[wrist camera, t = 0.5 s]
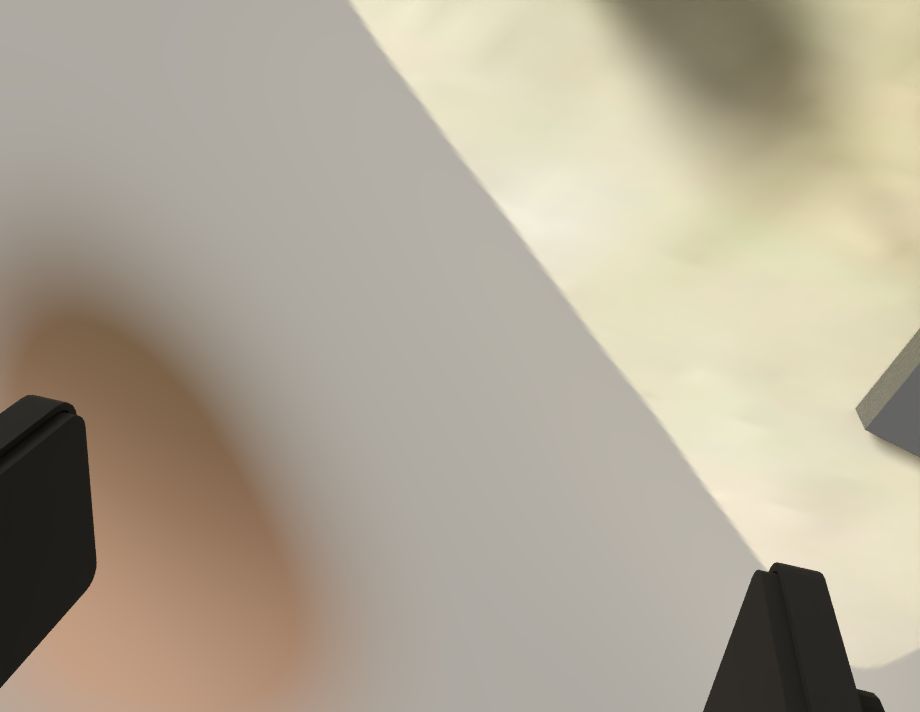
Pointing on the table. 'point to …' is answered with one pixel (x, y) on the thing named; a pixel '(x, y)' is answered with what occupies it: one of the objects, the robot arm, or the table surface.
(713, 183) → the table surface
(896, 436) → the hitch block
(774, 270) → the table surface
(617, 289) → the table surface
